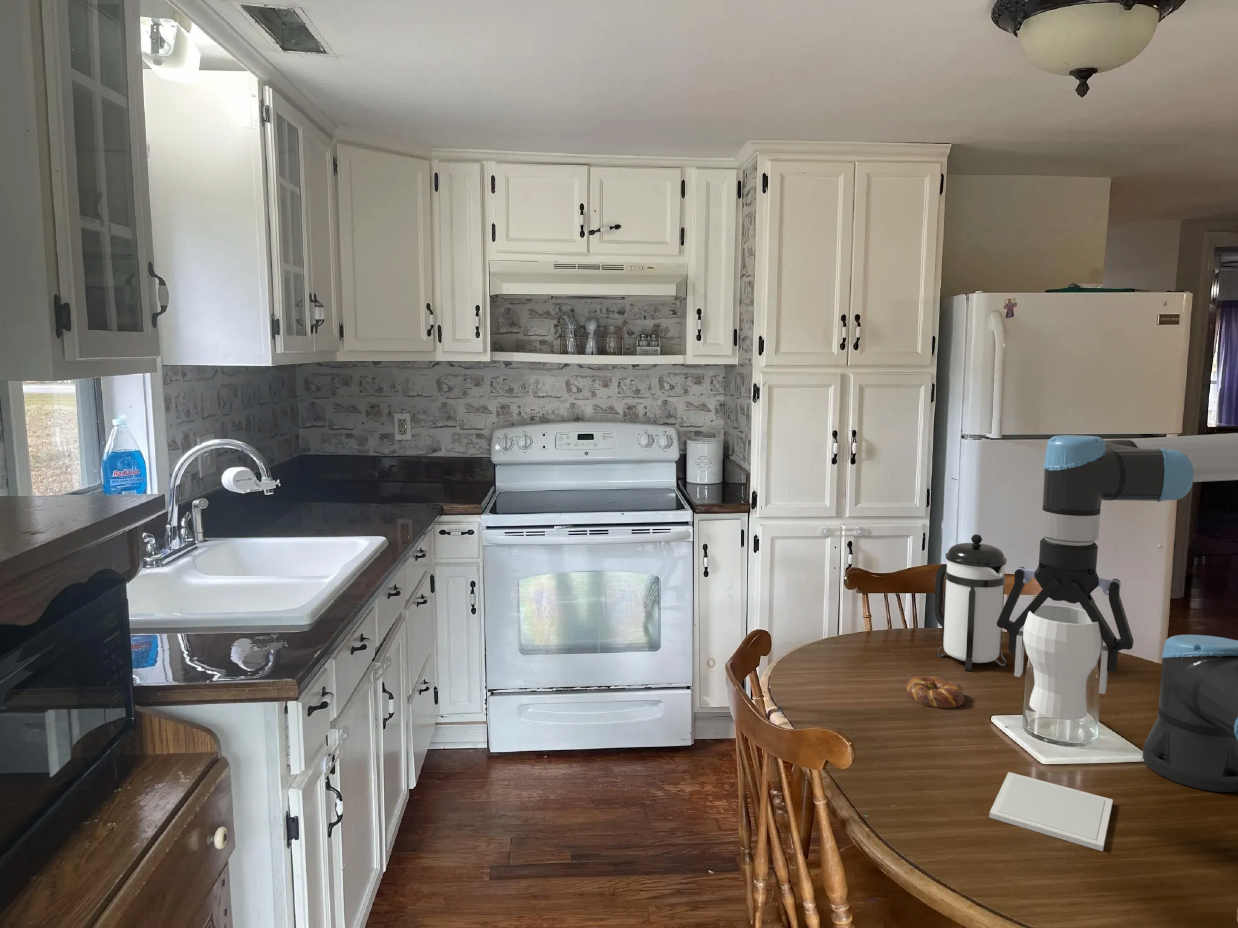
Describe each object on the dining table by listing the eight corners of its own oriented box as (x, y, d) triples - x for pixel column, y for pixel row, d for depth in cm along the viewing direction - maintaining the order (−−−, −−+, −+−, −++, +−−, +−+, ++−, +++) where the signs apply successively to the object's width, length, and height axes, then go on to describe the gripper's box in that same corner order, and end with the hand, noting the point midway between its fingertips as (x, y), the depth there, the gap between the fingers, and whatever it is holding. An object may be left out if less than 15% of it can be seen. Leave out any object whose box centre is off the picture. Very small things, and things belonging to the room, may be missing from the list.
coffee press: (1010, 655, 190) (1017, 531, 187) (1001, 677, 177) (1008, 544, 173) (933, 642, 199) (938, 523, 196) (919, 662, 186) (924, 535, 182)
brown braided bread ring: (893, 696, 169) (893, 679, 168) (923, 683, 175) (923, 667, 175) (946, 715, 159) (946, 697, 159) (975, 701, 165) (976, 684, 165)
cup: (1028, 689, 130) (1033, 599, 128) (1103, 707, 123) (1110, 612, 122) (1011, 711, 122) (1016, 616, 120) (1091, 731, 115) (1098, 630, 113)
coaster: (1112, 804, 126) (1112, 798, 126) (1102, 851, 114) (1103, 845, 114) (1008, 776, 135) (1008, 771, 135) (989, 817, 123) (989, 811, 123)
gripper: (1163, 544, 116) (1151, 691, 119) (990, 526, 129) (983, 658, 132) (1161, 555, 110) (1148, 709, 112) (979, 534, 123) (972, 673, 126)
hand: (1059, 681), depth 122 cm, fingers closed on cup, 11 cm apart
